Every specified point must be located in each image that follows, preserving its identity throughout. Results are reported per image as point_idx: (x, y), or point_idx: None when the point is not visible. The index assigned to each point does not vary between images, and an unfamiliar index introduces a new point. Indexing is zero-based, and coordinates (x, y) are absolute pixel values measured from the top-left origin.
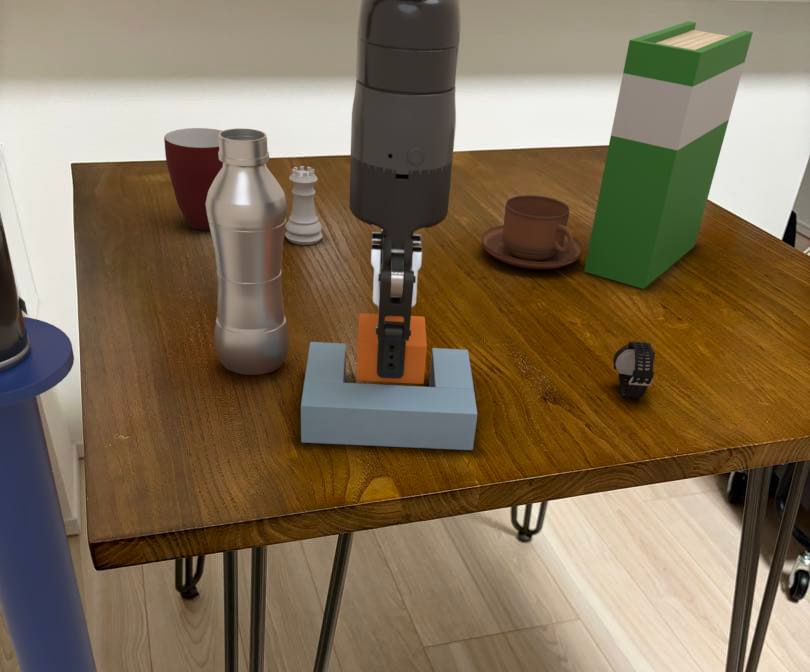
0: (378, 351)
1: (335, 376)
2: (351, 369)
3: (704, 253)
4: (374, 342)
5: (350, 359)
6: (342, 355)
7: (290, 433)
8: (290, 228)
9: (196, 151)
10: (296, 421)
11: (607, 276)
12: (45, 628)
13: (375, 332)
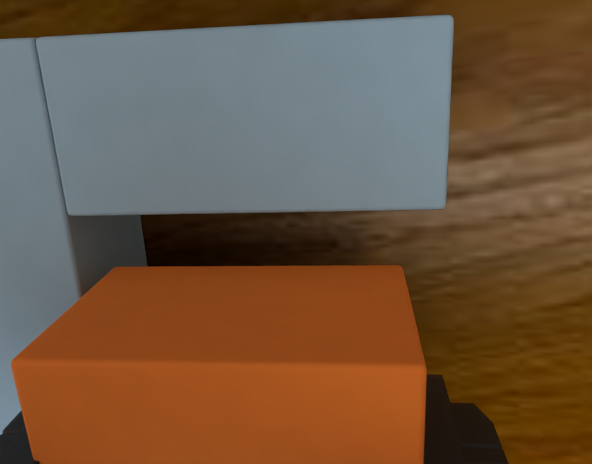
0: (14, 442)
1: (106, 180)
2: (501, 187)
3: None
4: (41, 443)
5: (588, 179)
6: (310, 199)
7: (4, 2)
8: None
9: None
10: (85, 13)
11: None
12: None
13: (163, 451)
